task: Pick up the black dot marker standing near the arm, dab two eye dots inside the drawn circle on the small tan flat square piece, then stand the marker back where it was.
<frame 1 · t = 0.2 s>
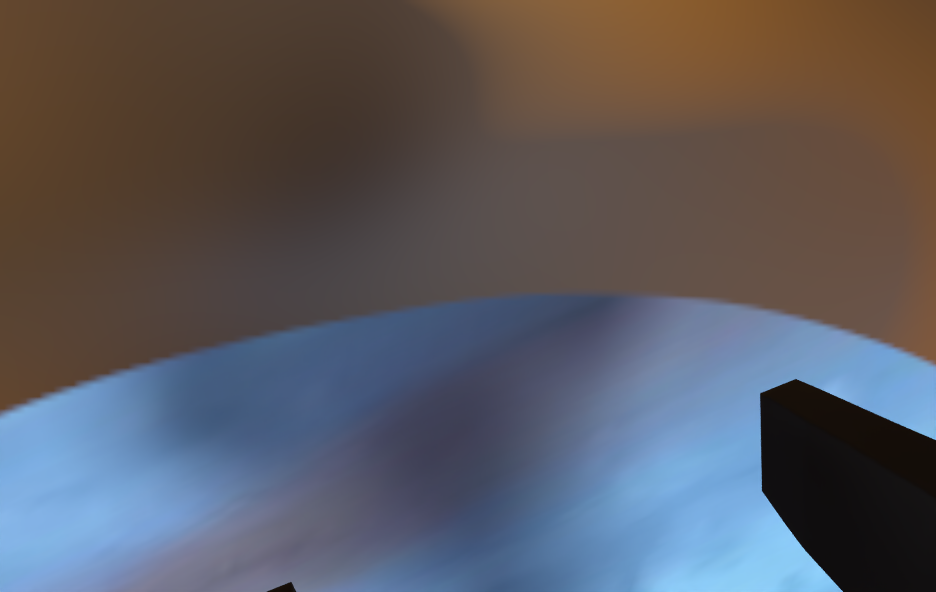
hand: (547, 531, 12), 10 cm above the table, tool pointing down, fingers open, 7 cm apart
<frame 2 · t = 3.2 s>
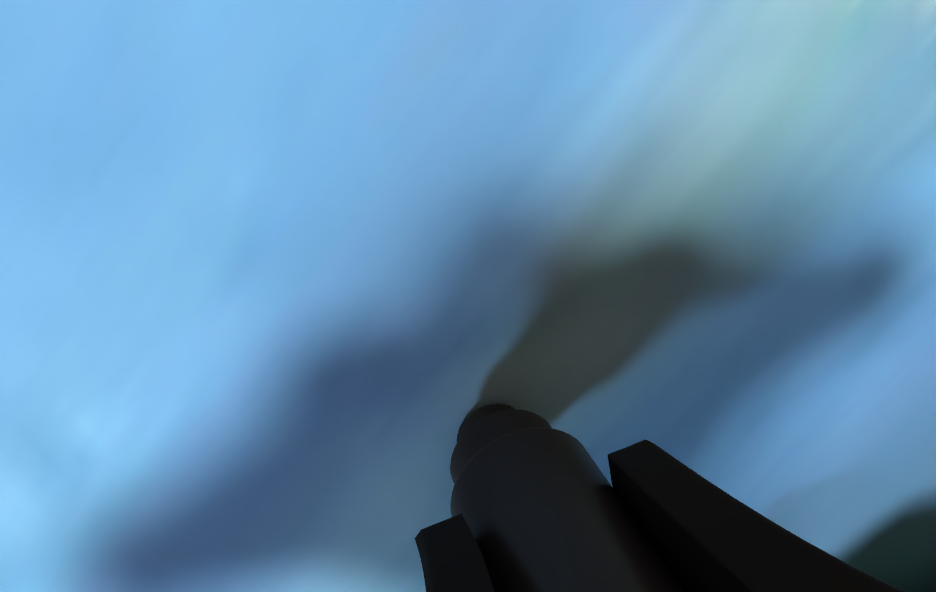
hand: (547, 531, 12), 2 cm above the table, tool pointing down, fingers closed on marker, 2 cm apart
marker: (490, 432, 14), on the table, touching gripper
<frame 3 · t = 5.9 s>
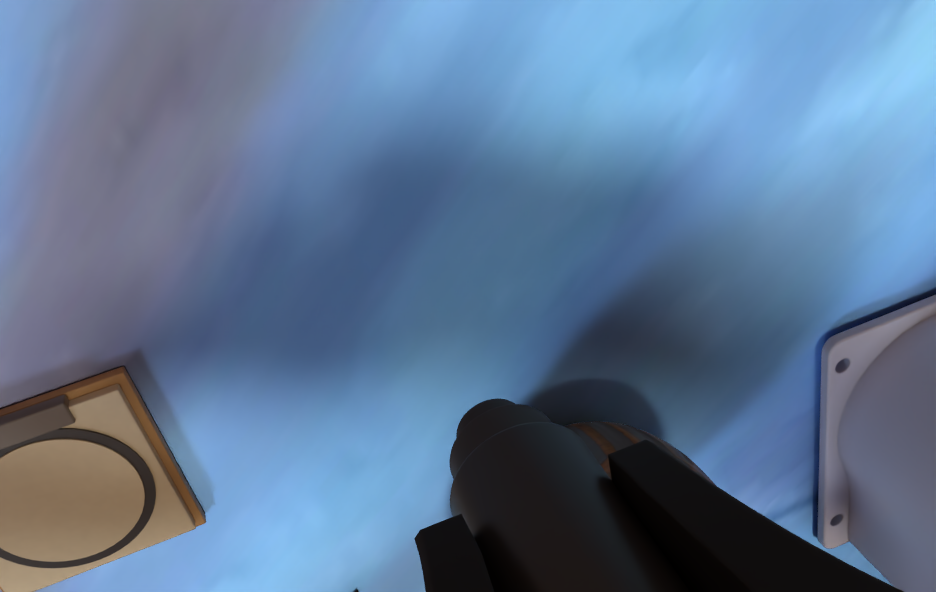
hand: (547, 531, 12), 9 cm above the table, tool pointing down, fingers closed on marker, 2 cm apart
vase: (556, 475, 25), on the table
marker: (489, 427, 14), point 7 cm above the table, touching gripper
tan flat square piece: (64, 483, 20), on the table
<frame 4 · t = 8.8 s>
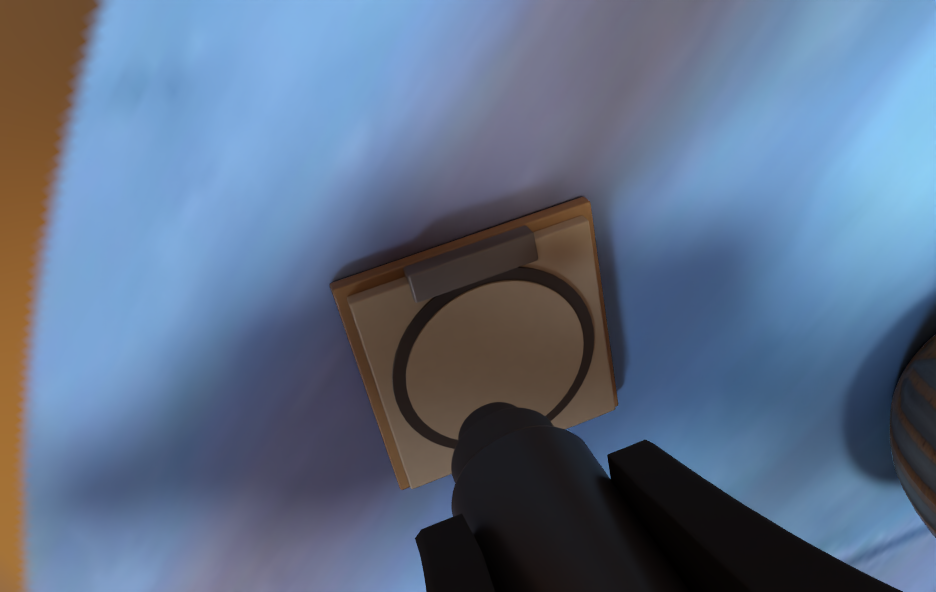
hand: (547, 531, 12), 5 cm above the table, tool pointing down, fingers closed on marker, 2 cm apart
marker: (491, 430, 14), point 3 cm above the table, touching gripper
tan flat square piece: (485, 346, 17), on the table
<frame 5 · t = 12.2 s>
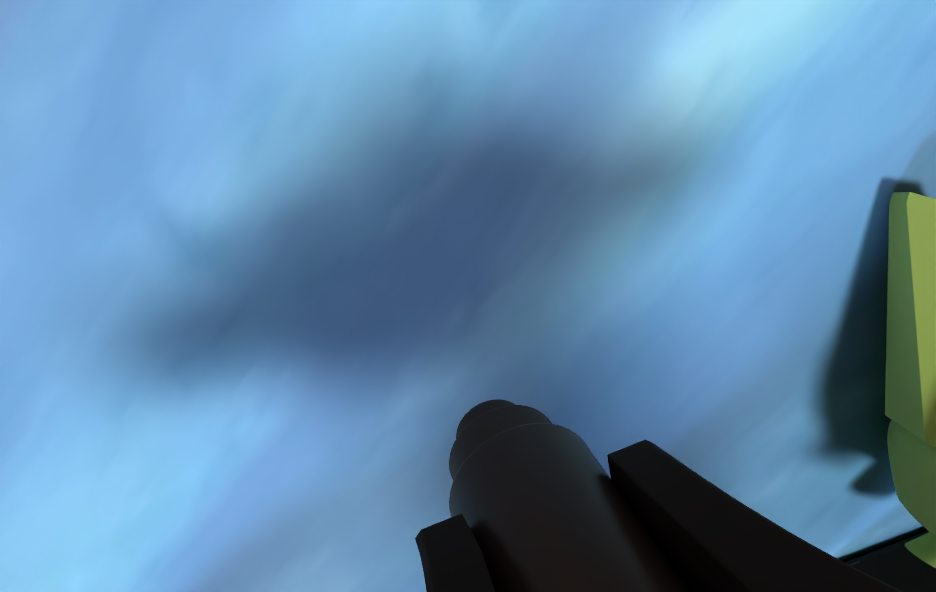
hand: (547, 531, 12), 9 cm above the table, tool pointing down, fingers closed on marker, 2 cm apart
marker: (489, 428, 14), point 7 cm above the table, touching gripper
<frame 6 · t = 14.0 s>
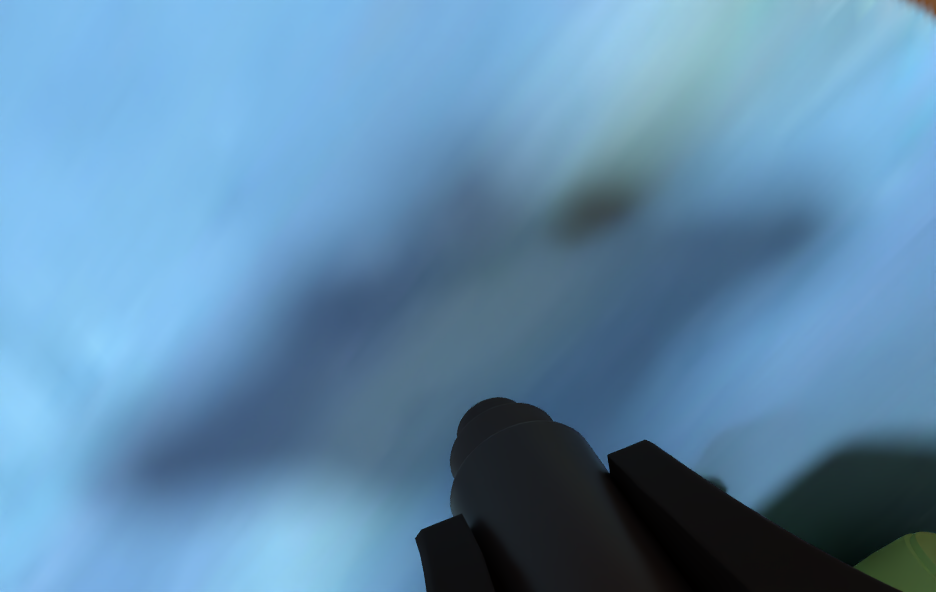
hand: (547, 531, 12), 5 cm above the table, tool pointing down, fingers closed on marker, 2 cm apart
marker: (490, 426, 14), point 2 cm above the table, touching gripper
when the fingers open (2 cm above the table, at t = 14.8 s): marker stays where it is, on the table.
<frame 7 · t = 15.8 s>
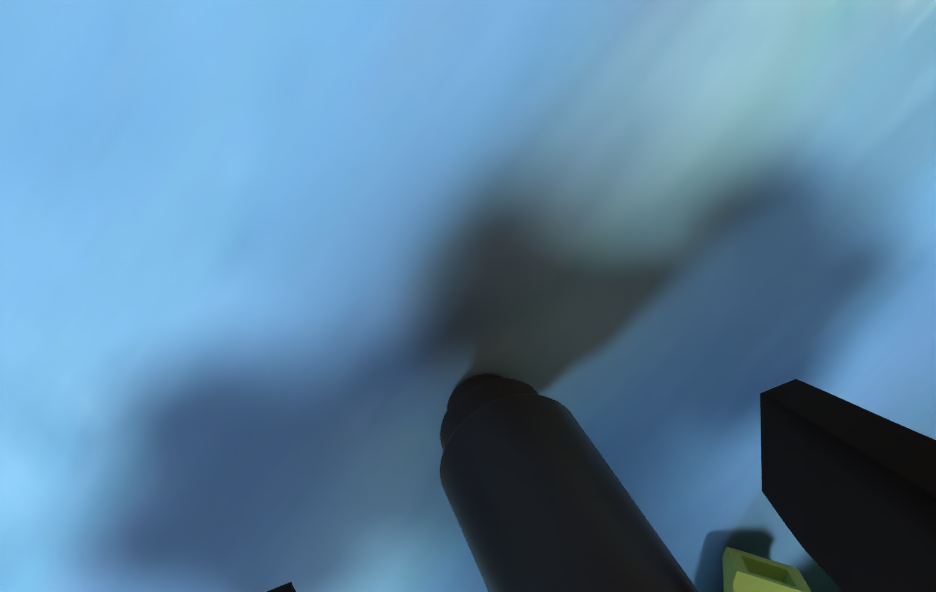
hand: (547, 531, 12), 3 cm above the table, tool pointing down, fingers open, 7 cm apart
marker: (479, 402, 14), on the table
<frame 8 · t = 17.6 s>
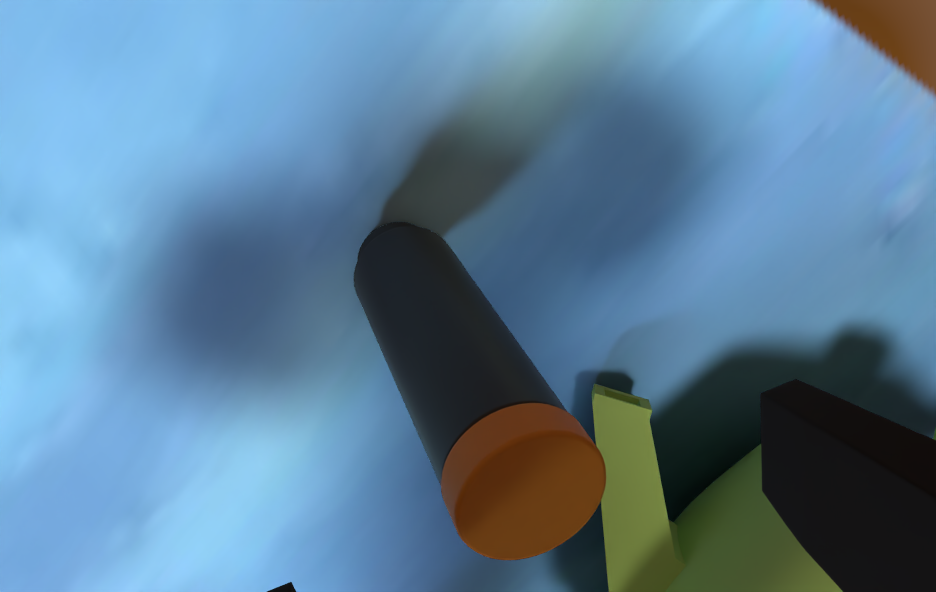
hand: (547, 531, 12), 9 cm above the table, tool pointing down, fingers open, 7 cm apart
marker: (389, 246, 20), on the table
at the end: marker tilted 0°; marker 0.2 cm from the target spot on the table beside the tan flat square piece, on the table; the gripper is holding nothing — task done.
